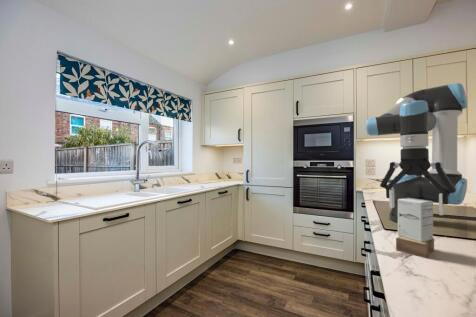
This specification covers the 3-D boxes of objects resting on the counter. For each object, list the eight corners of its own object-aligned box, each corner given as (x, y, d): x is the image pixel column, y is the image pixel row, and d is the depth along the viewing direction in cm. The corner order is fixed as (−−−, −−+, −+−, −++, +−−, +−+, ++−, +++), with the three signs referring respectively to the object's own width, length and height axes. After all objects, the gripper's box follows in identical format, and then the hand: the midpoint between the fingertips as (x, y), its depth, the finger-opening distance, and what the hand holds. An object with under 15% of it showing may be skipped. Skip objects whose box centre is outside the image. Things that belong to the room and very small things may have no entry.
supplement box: (396, 235, 79) (396, 198, 79) (409, 232, 82) (409, 197, 82) (421, 242, 72) (421, 202, 72) (434, 239, 75) (433, 200, 75)
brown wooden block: (405, 243, 83) (405, 231, 83) (434, 250, 77) (434, 237, 77) (396, 250, 77) (396, 237, 77) (426, 258, 71) (426, 244, 71)
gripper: (369, 149, 85) (370, 206, 85) (463, 145, 65) (465, 220, 65) (377, 149, 89) (378, 203, 90) (467, 146, 70) (468, 215, 70)
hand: (415, 210), depth 77 cm, fingers open, 13 cm apart
